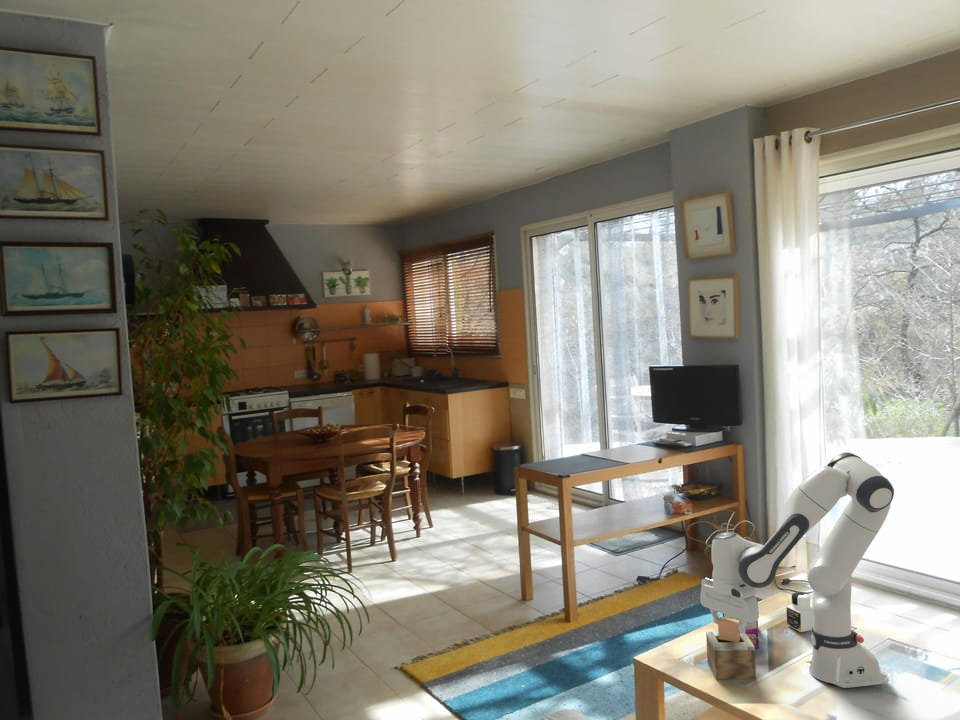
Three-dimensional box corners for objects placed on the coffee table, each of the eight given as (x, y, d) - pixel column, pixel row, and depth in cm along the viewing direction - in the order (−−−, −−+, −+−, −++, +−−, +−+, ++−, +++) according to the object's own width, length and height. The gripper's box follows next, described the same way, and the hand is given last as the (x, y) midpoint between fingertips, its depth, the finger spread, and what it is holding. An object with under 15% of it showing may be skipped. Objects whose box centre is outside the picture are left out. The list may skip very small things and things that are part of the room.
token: (740, 638, 234) (739, 620, 234) (738, 642, 232) (737, 623, 231) (721, 635, 237) (720, 617, 237) (718, 639, 235) (717, 620, 234)
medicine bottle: (786, 625, 267) (785, 592, 266) (803, 622, 269) (801, 589, 268) (800, 632, 260) (799, 598, 259) (817, 629, 262) (816, 595, 262)
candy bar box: (758, 642, 253) (756, 595, 253) (759, 649, 249) (757, 600, 248) (724, 640, 257) (722, 593, 257) (723, 646, 252) (721, 598, 252)
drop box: (745, 661, 240) (744, 631, 240) (755, 678, 228) (754, 646, 228) (707, 662, 241) (706, 631, 241) (715, 679, 229) (714, 647, 229)
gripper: (694, 578, 241) (696, 620, 241) (747, 595, 224) (749, 640, 224) (708, 574, 244) (710, 615, 245) (760, 590, 227) (762, 635, 227)
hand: (729, 627), depth 234 cm, fingers open, 8 cm apart
